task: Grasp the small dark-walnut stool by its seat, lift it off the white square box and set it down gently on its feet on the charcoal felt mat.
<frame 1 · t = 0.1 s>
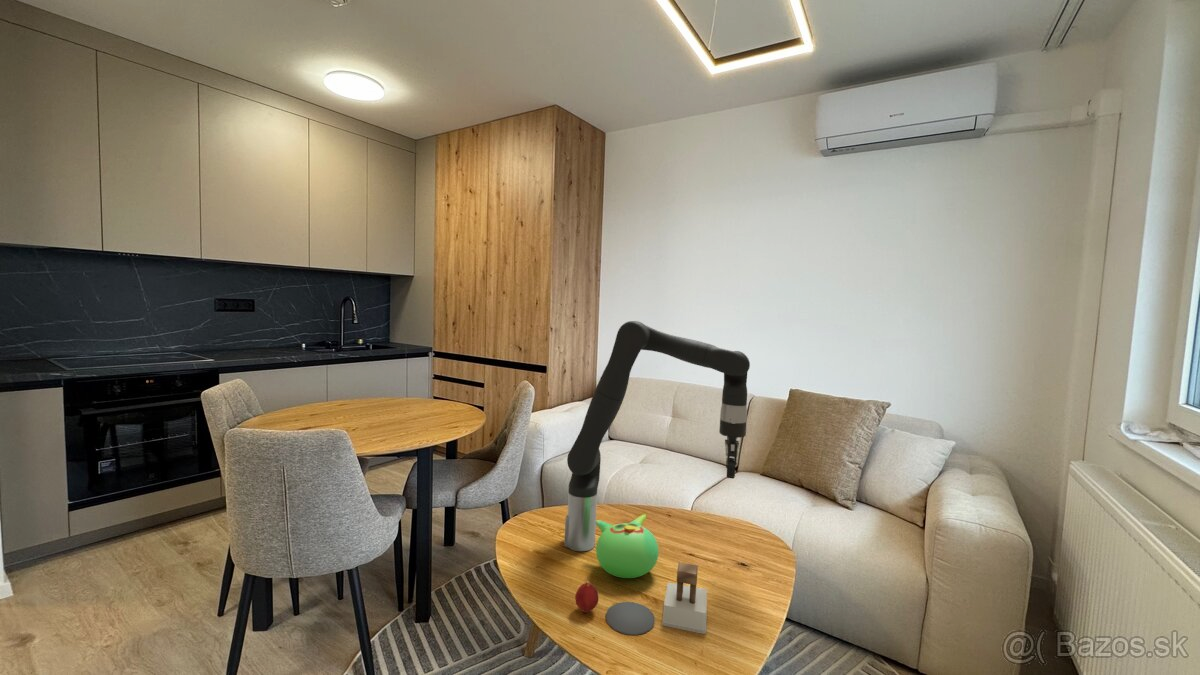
hand: (730, 473, 137), 29 cm above the table, fingers open, 8 cm apart
white square box: (685, 616, 116), on the table
onion: (586, 612, 116), on the table
charcoal felt mat: (630, 618, 114), on the table
walnut stool: (686, 596, 116), point 5 cm above the table, touching white square box
toy bird: (625, 572, 135), on the table
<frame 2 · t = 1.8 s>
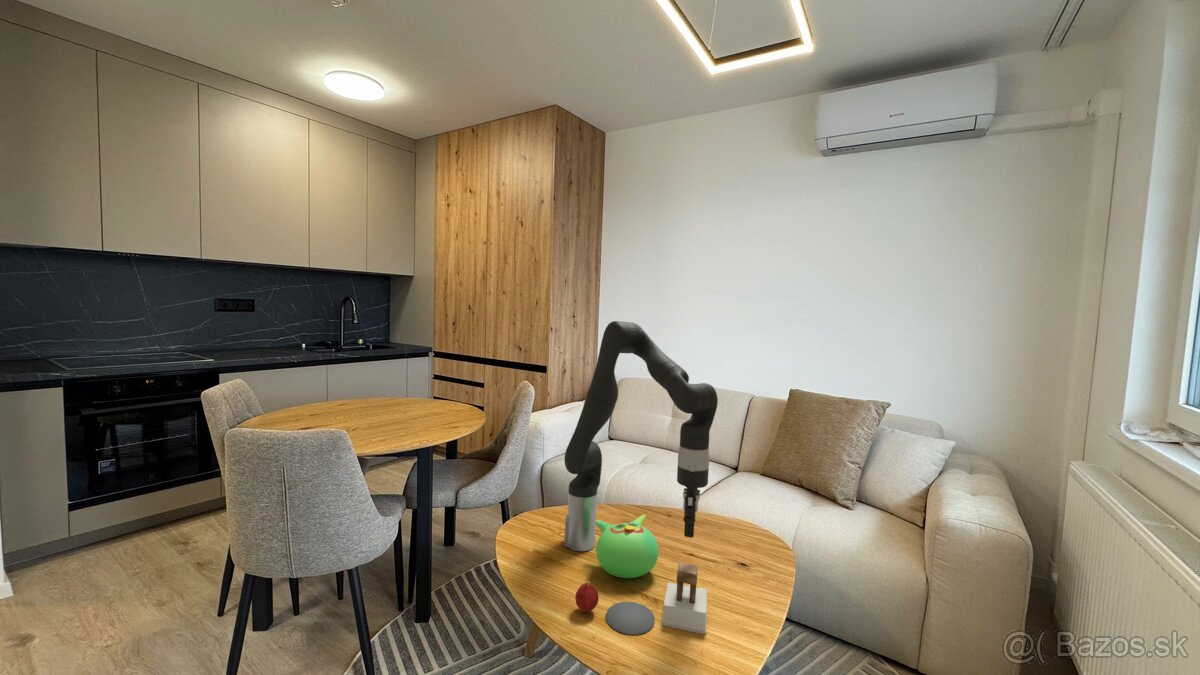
hand: (689, 528, 115), 22 cm above the table, fingers open, 8 cm apart
nothing on the table moved.
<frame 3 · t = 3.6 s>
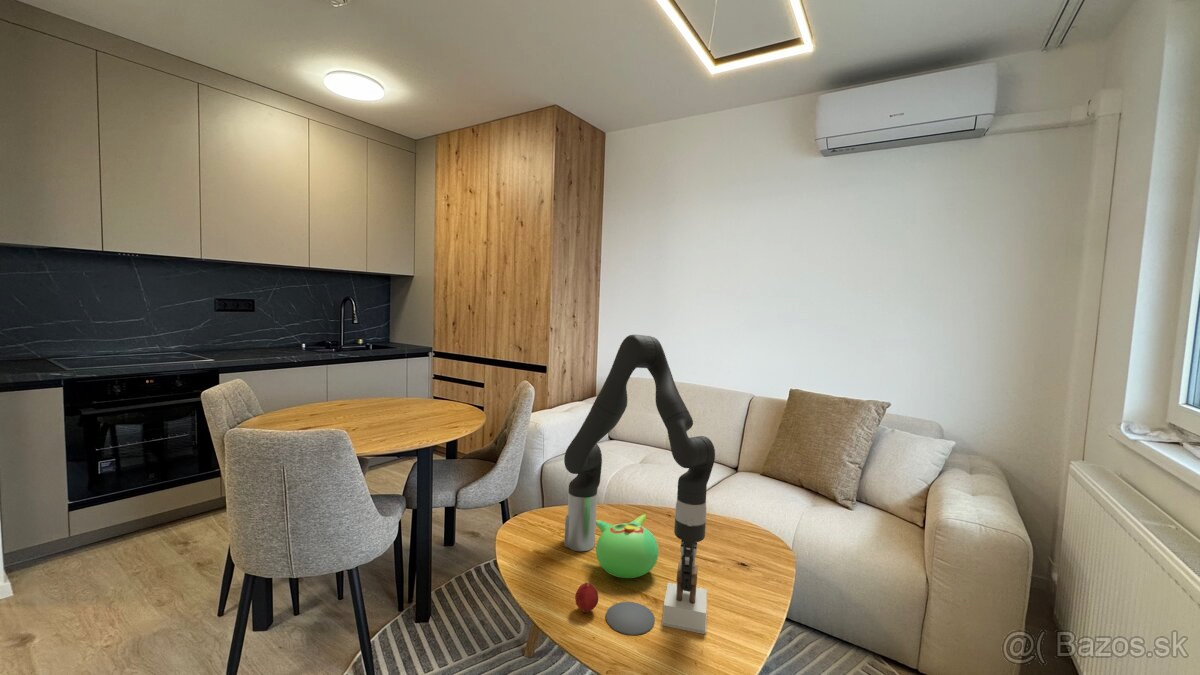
hand: (686, 583, 116), 8 cm above the table, fingers closed on walnut stool, 4 cm apart
walnut stool: (686, 596, 116), point 5 cm above the table, touching white square box, gripper
everything else where it was.
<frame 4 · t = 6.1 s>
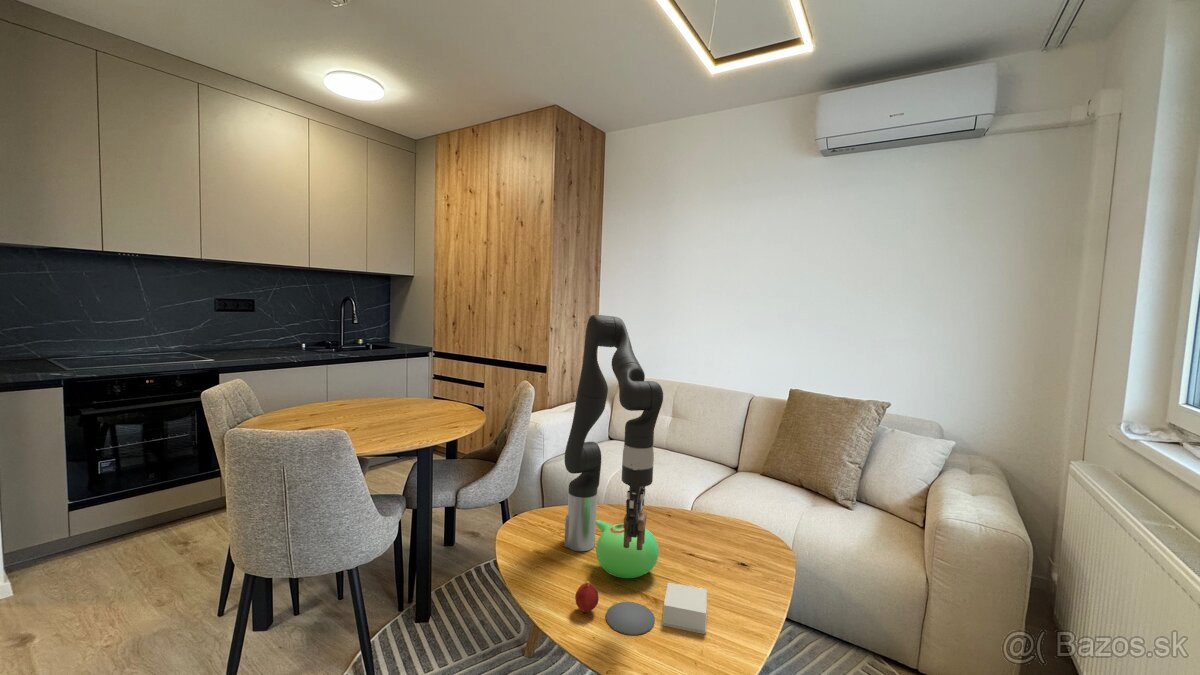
hand: (634, 531, 113), 22 cm above the table, fingers closed on walnut stool, 4 cm apart
walnut stool: (634, 544, 113), point 19 cm above the table, touching gripper
everything else where it was.
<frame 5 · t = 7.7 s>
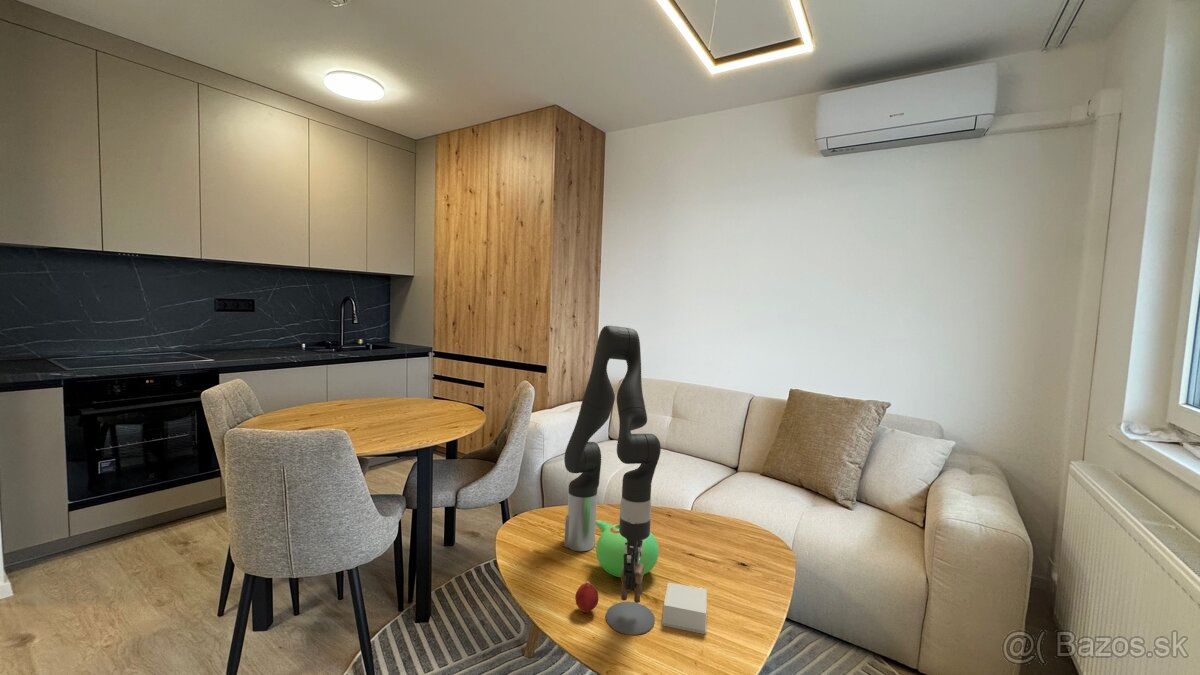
hand: (632, 582, 114), 9 cm above the table, fingers closed on walnut stool, 4 cm apart
walnut stool: (631, 595, 114), point 6 cm above the table, touching gripper
everything else where it was.
when the fingers open (5 cm above the table, at t = 9.0 s): walnut stool stays where it is, resting on charcoal felt mat.
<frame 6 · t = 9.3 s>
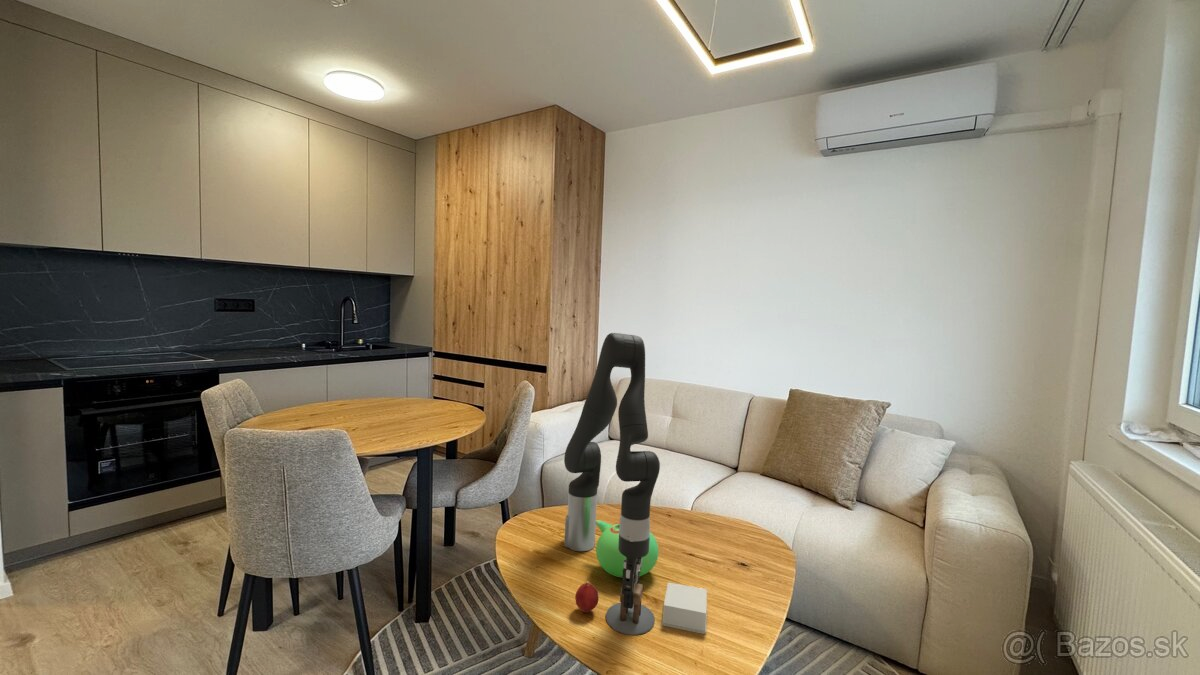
hand: (631, 597, 114), 5 cm above the table, fingers open, 7 cm apart
walnut stool: (630, 616, 114), resting on charcoal felt mat
everything else where it was.
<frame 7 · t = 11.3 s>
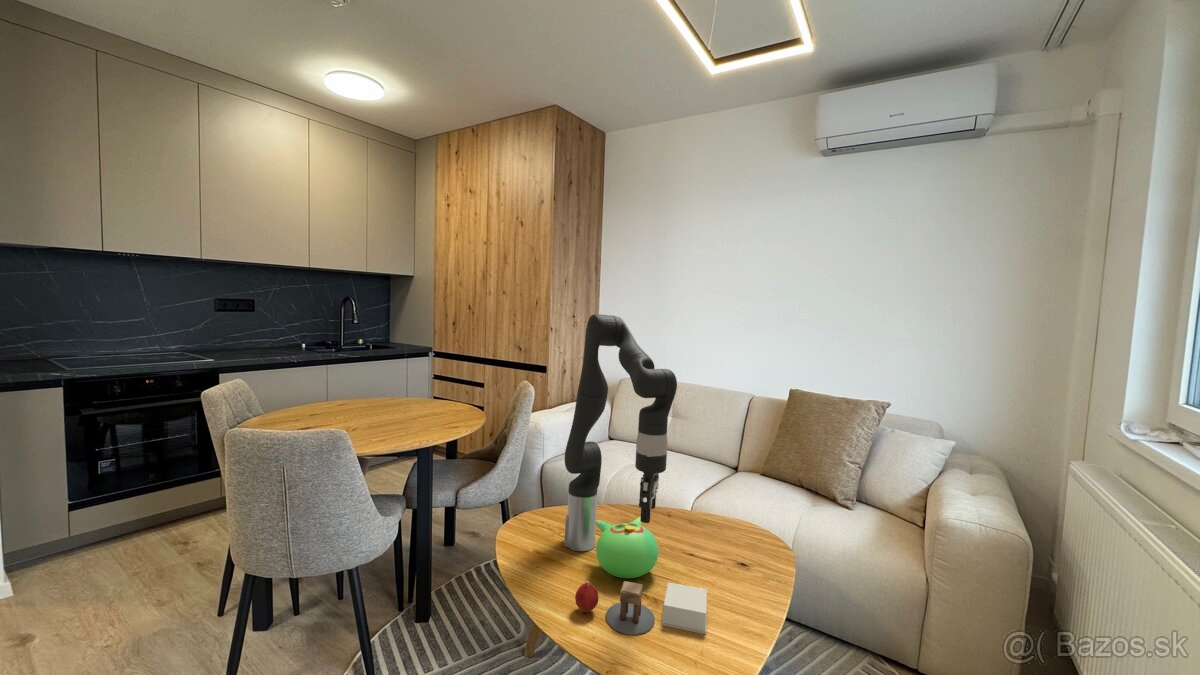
hand: (648, 514, 114), 26 cm above the table, fingers open, 8 cm apart
nothing on the table moved.
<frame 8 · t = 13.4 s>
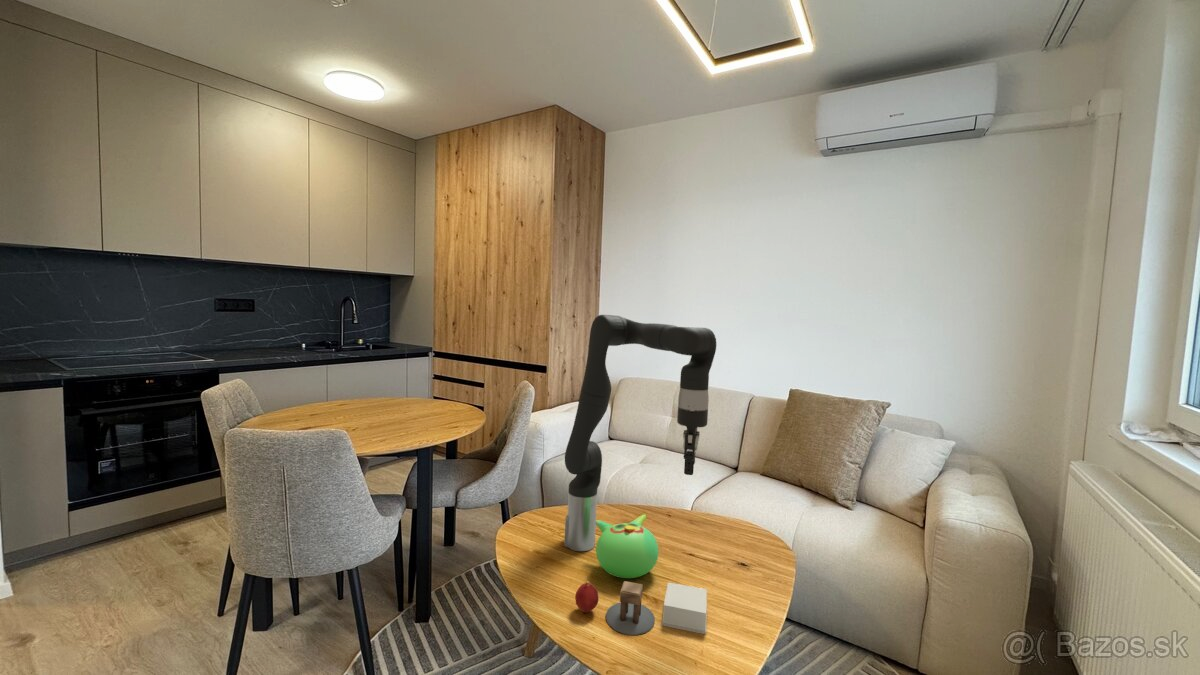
hand: (689, 468, 118), 36 cm above the table, fingers open, 8 cm apart
nothing on the table moved.
at the end: walnut stool inside the target area on the charcoal felt mat (0.1 cm from its centre), point 0.4 cm above the charcoal felt mat's base; walnut stool tilted 0°; the gripper is holding nothing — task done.
